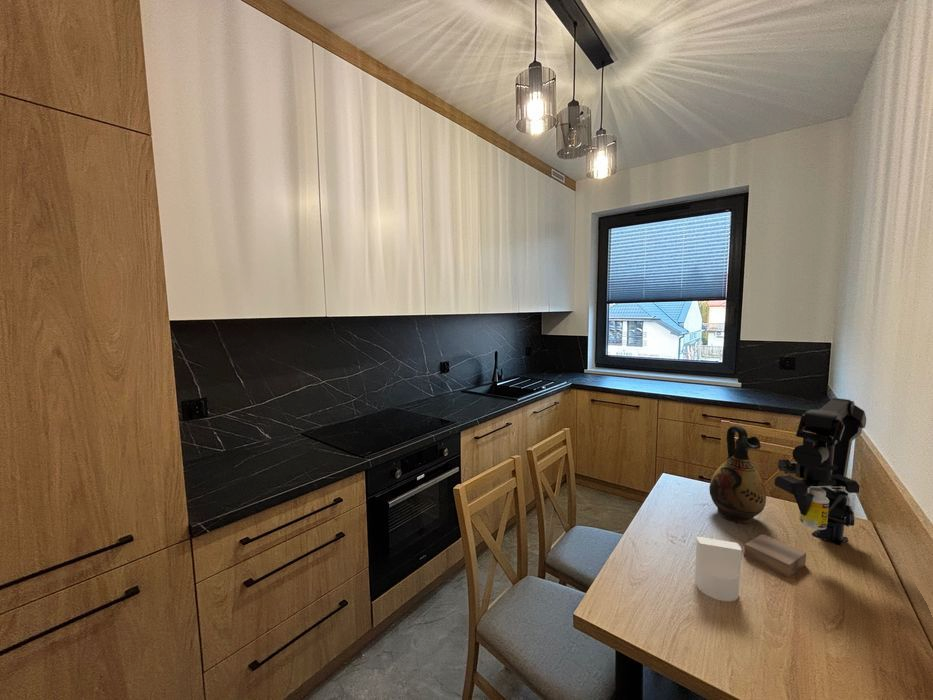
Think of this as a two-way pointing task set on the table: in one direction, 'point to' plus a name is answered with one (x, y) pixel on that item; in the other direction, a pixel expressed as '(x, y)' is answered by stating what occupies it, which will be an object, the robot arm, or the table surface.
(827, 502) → the supplement bottle
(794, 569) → the walnut block
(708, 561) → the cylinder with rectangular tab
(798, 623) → the table surface
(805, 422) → the robot arm
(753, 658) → the table surface
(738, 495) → the ceramic jug
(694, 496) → the table surface
